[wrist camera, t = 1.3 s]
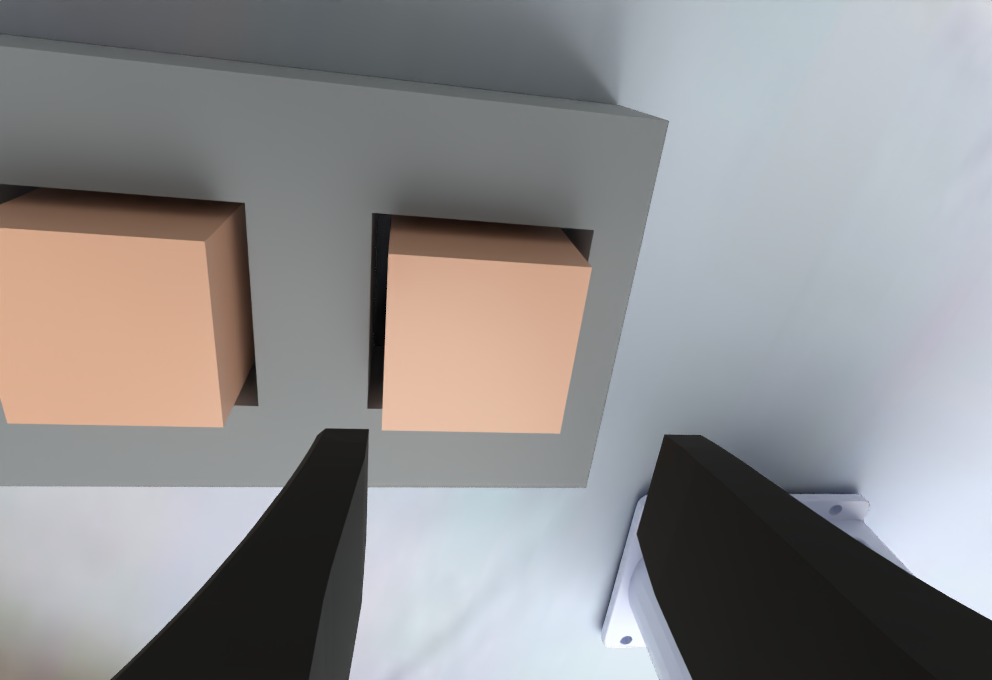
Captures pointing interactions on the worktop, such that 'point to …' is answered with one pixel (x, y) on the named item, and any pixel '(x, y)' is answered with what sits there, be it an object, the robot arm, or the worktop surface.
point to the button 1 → (123, 309)
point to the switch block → (325, 244)
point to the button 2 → (480, 325)
